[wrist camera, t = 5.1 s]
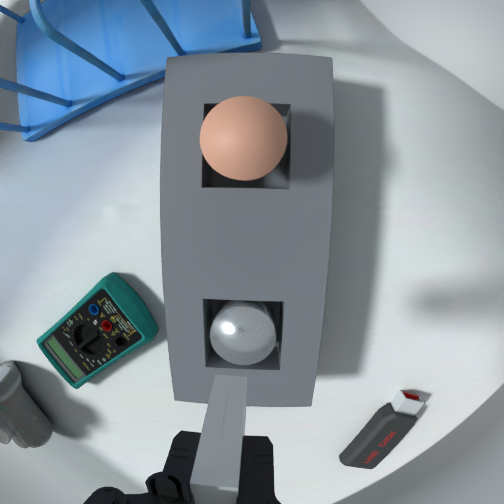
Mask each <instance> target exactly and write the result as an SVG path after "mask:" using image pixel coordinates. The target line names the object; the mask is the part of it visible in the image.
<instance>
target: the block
mask: <svg viewBox="0 0 504 504" xmlns="http://www.w3.org/2000/svg"><path fill="white" fill-rule="evenodd" d="M237 96H251V97H256V98H259V99H262V100H264V101H266V102H267V103H269V104H270V105H272V106H273V107H274V108H275V109H276V110H277V111H278V112H279V114H280V115H281V117H282V118H283V120H284V123H285V126H286V130H287V145H286V149H285V152H284V155H283V156H282V158H281V160H280V161H279V163H278V164H277V165H276V167H275V168H274V169H273V170H272V171H271V172H270V173H269V174H267V175H266V176H264V177H262V178H259V179H256V180H251V181H242V180H236V179H231V178H228V177H225V176H223V175H221V174H220V173H218V172H217V171H215V170H214V169H213V168H212V167H211V166H210V165H209V164H208V162H207V161H206V159H205V158H204V155H203V153H202V150H201V146H200V131H201V127H202V124H203V121H204V120H205V118H206V116H207V115H208V113H209V112H210V111H211V110H212V109H213V108H214V107H215V106H216V105H218V104H219V103H221V102H222V101H224V100H227V99H229V98H232V97H237ZM333 167H334V92H333V63H332V58H331V57H322V56H311V55H299V54H282V53H214V54H197V55H184V56H174V57H167V60H166V70H165V82H164V95H163V111H162V131H161V161H160V225H161V257H162V277H163V293H164V307H165V319H166V331H167V341H168V351H169V360H170V369H171V377H172V384H173V392H174V399H175V400H176V401H185V402H195V403H206V404H208V403H209V398H210V394H211V390H212V386H213V381H214V377H215V375H229V376H247V390H246V406H259V407H307V406H311V405H312V399H313V392H314V386H315V379H316V372H317V365H318V358H319V350H320V343H321V335H322V326H323V317H324V308H325V298H326V288H327V276H328V264H329V251H330V236H331V219H332V198H333ZM222 300H249V301H269V302H270V303H271V305H272V307H273V311H274V319H275V331H276V342H275V345H274V348H273V350H272V351H271V353H270V354H269V355H268V356H267V357H266V358H265V359H263V360H262V361H260V362H257V363H255V364H251V365H238V364H233V363H230V362H228V361H226V360H224V359H223V358H222V357H220V356H219V355H218V354H217V353H216V351H215V350H214V348H213V346H212V344H211V340H210V330H211V327H212V324H213V321H214V318H215V315H216V312H217V309H218V307H219V304H220V302H221V301H222Z"/></svg>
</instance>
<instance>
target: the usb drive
mask: <svg viewBox="0 0 504 504" xmlns="http://www.w3.org/2000/svg"><path fill="white" fill-rule="evenodd" d="M423 404H424V401H423V400H422V398H421V397H420V395H416V394H412V393H409V392H405V391H402V390H400V391H399V392H398V394H397V395H396V397H395V398H394V399H393V401H392V402H391V403H387V404H386V405H384V406H383V407H381V408H380V409H379V410H378V411H377V412H376V413H375V414H374V416H373V417H372V418H371V419H370V421H369V422H368V423H367V424H366V425H365V427H364V428H363V429H362V430H361V431H360V433H359V434H358V435H357V436H356V437H355V438H354V440H353V441H352V442H351V443H350V444H349V445H348V446H347V448H346V449H345V450H344V451H343V452H342V453H341V454H340V455H339V459H340V462H341V463H342V464H344V465H345V466H351V467H358V468H365V469H373V468H374V467H376V466H377V465H378V464H379V463H380V462H381V461H382V460H383V459H384V458H385V457H386V456H387V455H388V454H389V453H390V452H391V451H392V449H393V448H394V447H395V446H396V445H397V444H398V443H399V442H400V441H401V440H402V438H403V437H404V436H405V435H406V434H407V433H408V432H409V430H410V429H411V428H412V427H413V426H414V424H415V422H416V420H417V417H416V413H417V412H418V411H419V410H420V408H421V407H422V406H423Z"/></svg>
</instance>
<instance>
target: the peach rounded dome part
mask: <svg viewBox="0 0 504 504" xmlns="http://www.w3.org/2000/svg"><path fill="white" fill-rule="evenodd" d="M286 145H287V130H286V126H285V123H284V120H283V118H282V117H281V115H280V114H279V112H278V111H277V110H276V109H275V108H274V107H273V106H272V105H270V104H269V103H267V102H266V101H264V100H262V99H259V98H256V97H251V96H237V97H232V98H229V99H227V100H224V101H222V102H221V103H219V104H218V105H216V106H215V107H214V108H213V109H212V110H211V111H210V112H209V113H208V115H207V116H206V118H205V120H204V121H203V124H202V127H201V131H200V146H201V150H202V153H203V155H204V158H205V159H206V161H207V162H208V164H209V165H210V166H211V167H212V168H213V169H214V170H215V171H217V172H218V173H220V174H221V175H223V176H225V177H228V178H231V179H236V180H242V181H251V180H256V179H259V178H262V177H264V176H266V175H267V174H269V173H270V172H271V171H272V170H273V169H274V168H275V167H276V165H277V164H278V163H279V161H280V160H281V158H282V156H283V155H284V152H285V149H286Z"/></svg>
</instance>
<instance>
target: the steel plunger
mask: <svg viewBox="0 0 504 504" xmlns="http://www.w3.org/2000/svg"><path fill="white" fill-rule="evenodd" d="M210 340H211V344H212V346H213V348H214V350H215V351H216V353H217V354H218V355H219V356H220V357H222V358H223V359H224V360H226V361H228V362H230V363H233V364H238V365H251V364H255V363H257V362H260V361H262V360H263V359H265V358H266V357H267V356H268V355H269V354H270V353H271V351H272V350H273V348H274V345H275V342H276V331H275V319H274V311H273V307H272V305H271V303H270V302H269V301H249V300H222V301H221V302H220V304H219V307H218V309H217V312H216V315H215V318H214V321H213V324H212V327H211V330H210Z"/></svg>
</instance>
